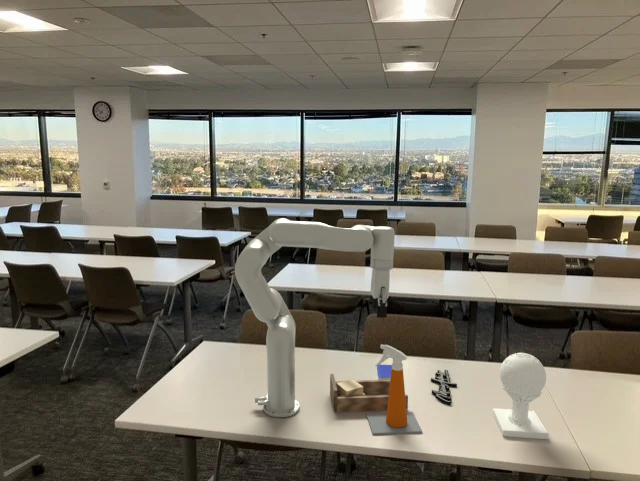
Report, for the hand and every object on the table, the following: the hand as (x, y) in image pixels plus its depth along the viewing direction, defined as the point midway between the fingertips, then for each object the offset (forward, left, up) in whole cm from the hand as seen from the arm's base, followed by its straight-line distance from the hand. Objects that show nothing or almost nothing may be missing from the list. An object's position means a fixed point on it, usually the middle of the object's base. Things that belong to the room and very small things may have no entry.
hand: (379, 312), depth 160 cm
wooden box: (-2, +5, -35) cm, 35 cm away
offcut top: (-9, +4, -31) cm, 32 cm away
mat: (+4, -10, -35) cm, 37 cm away
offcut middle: (-9, +4, -33) cm, 35 cm away
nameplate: (+29, +14, -36) cm, 48 cm away
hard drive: (+10, +27, -36) cm, 46 cm away
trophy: (+45, -14, -35) cm, 58 cm away
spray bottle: (+3, -10, -34) cm, 36 cm away
